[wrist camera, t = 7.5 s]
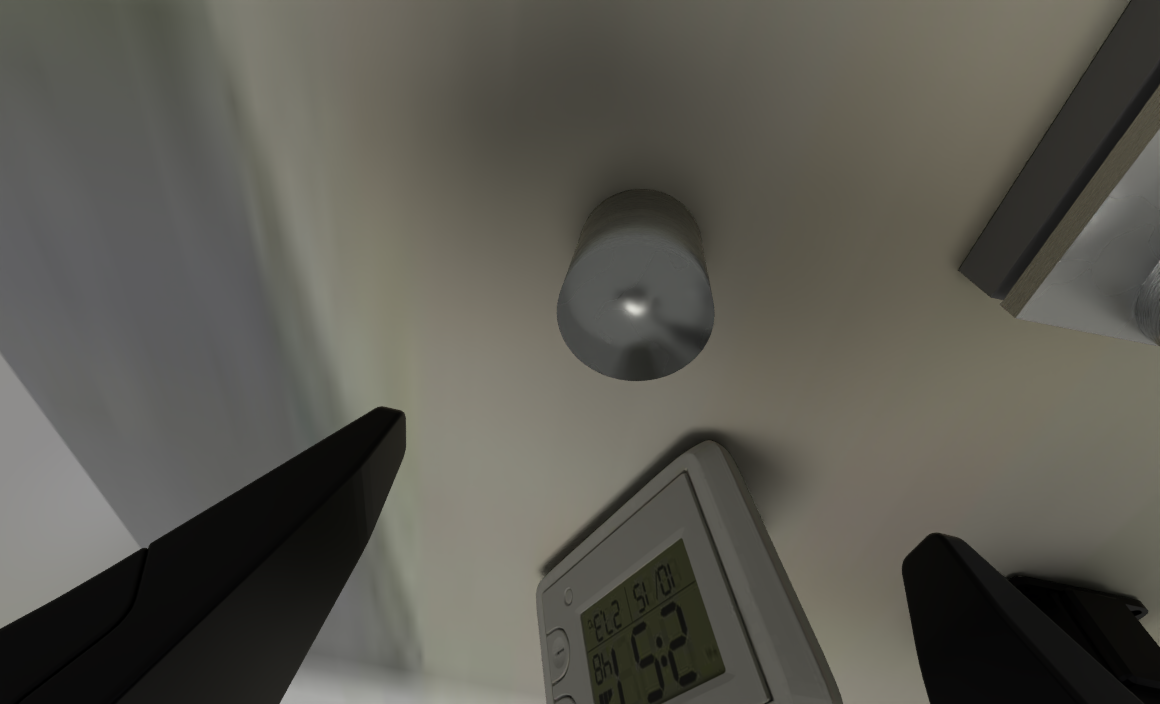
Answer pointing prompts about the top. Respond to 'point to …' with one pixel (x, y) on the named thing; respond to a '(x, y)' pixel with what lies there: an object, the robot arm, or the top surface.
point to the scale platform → (1101, 243)
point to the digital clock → (680, 602)
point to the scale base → (1071, 150)
